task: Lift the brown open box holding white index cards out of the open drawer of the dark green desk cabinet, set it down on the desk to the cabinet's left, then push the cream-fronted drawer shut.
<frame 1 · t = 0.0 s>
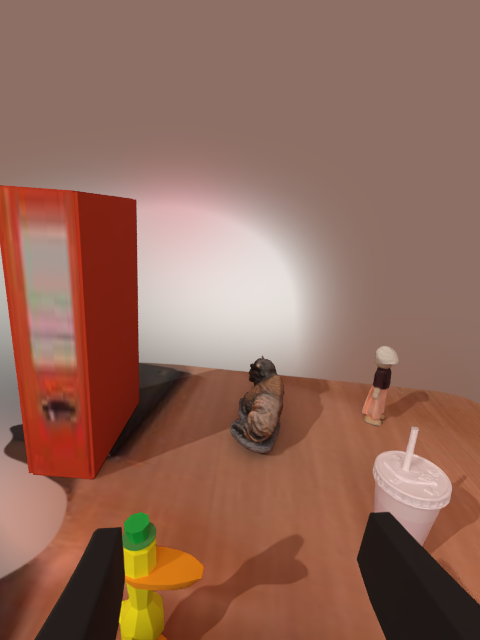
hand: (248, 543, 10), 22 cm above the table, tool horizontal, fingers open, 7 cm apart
smoothie: (391, 556, 34), on the table
file binder: (94, 434, 49), on the table
grandmother figurine: (373, 420, 57), on the table
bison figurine: (255, 434, 52), on the table
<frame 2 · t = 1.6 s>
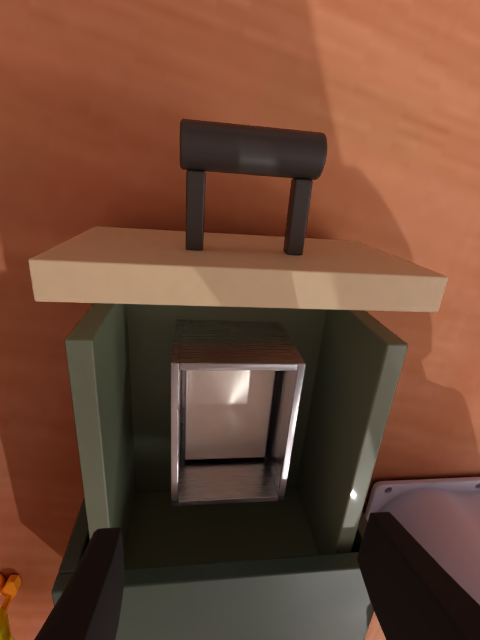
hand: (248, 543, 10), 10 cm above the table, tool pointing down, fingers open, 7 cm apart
brown open box: (225, 383, 18), point 2 cm above the table, touching drawer
cabinet: (212, 528, 24), on the table
toy figure: (8, 578, 24), on the table
drawer: (231, 379, 15), point 4 cm above the table, slide at 11.0 cm, touching brown open box
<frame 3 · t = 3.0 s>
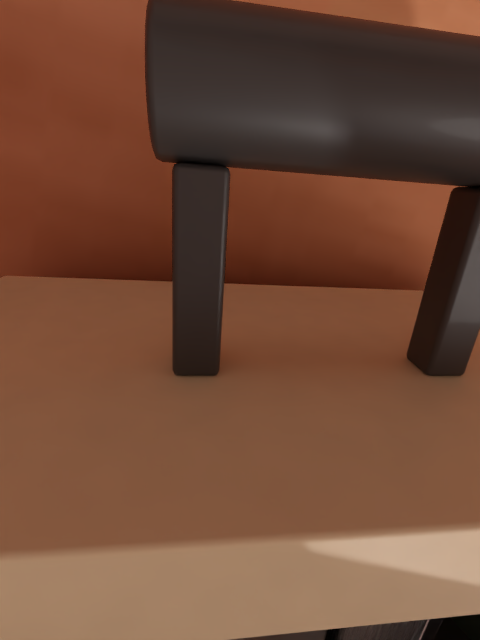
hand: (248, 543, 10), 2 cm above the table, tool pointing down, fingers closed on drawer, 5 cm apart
brown open box: (248, 529, 11), point 2 cm above the table, touching drawer
drawer: (268, 572, 8), point 4 cm above the table, slide at 11.0 cm, touching gripper, brown open box
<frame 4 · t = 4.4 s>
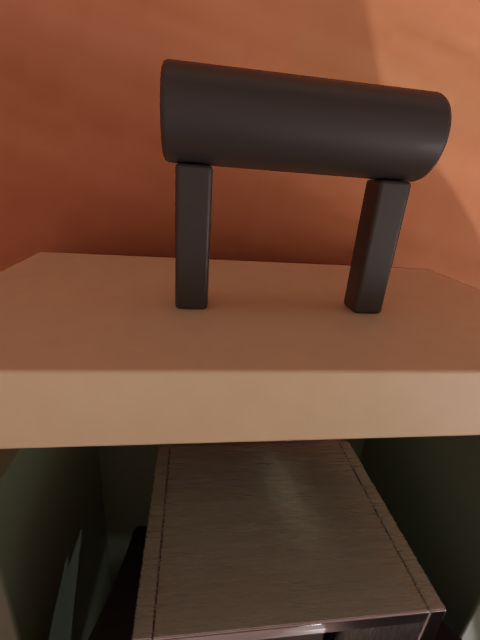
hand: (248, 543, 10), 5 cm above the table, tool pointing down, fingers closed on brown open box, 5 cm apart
brown open box: (245, 530, 10), point 4 cm above the table, touching gripper
drawer: (249, 486, 10), point 4 cm above the table, slide at 11.0 cm
when the fingers open (0 cm above the table, at t = 9.1 s): brown open box stays where it is, on the table.
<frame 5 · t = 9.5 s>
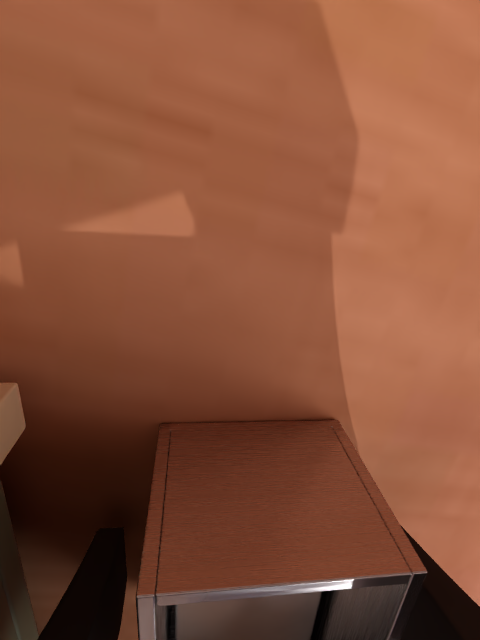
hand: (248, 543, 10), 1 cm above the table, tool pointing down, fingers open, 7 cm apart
brown open box: (243, 512, 11), on the table
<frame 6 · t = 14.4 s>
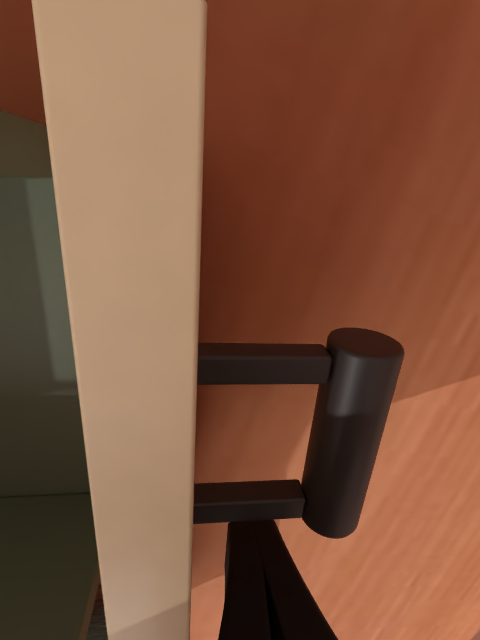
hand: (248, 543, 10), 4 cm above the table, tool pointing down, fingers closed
brown open box: (86, 571, 15), on the table
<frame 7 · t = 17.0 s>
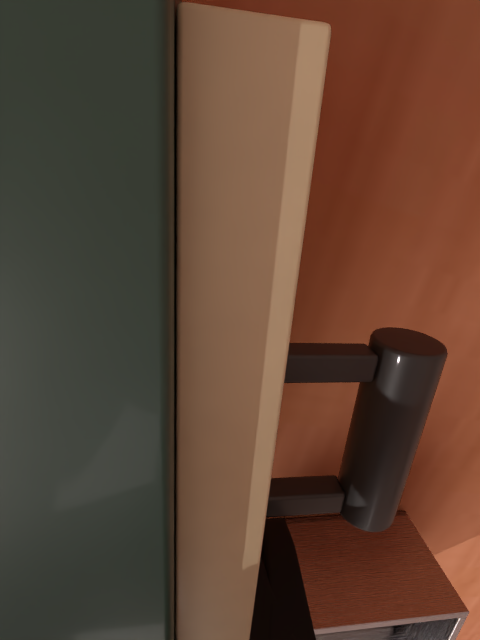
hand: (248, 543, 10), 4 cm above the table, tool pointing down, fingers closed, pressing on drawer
brown open box: (325, 552, 17), on the table
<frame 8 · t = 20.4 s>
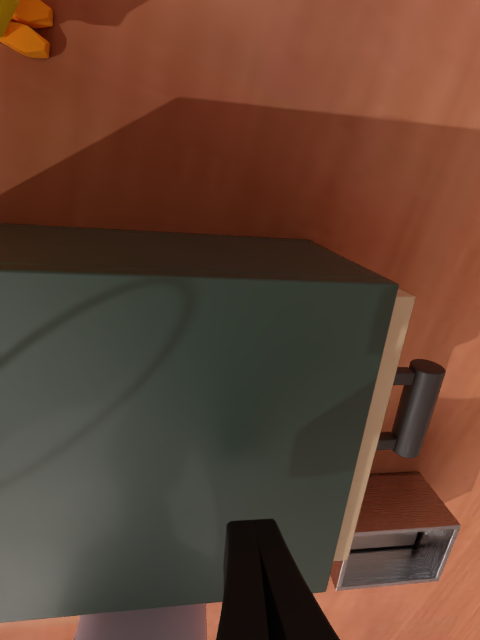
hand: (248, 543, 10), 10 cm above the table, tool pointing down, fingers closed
brown open box: (365, 500, 25), on the table
cabinet: (146, 357, 19), on the table
toy figure: (31, 31, 14), on the table
drawer: (219, 401, 16), point 4 cm above the table, slide at 0.0 cm, touching cabinet
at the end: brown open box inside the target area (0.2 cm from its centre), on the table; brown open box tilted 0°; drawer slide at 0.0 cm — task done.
